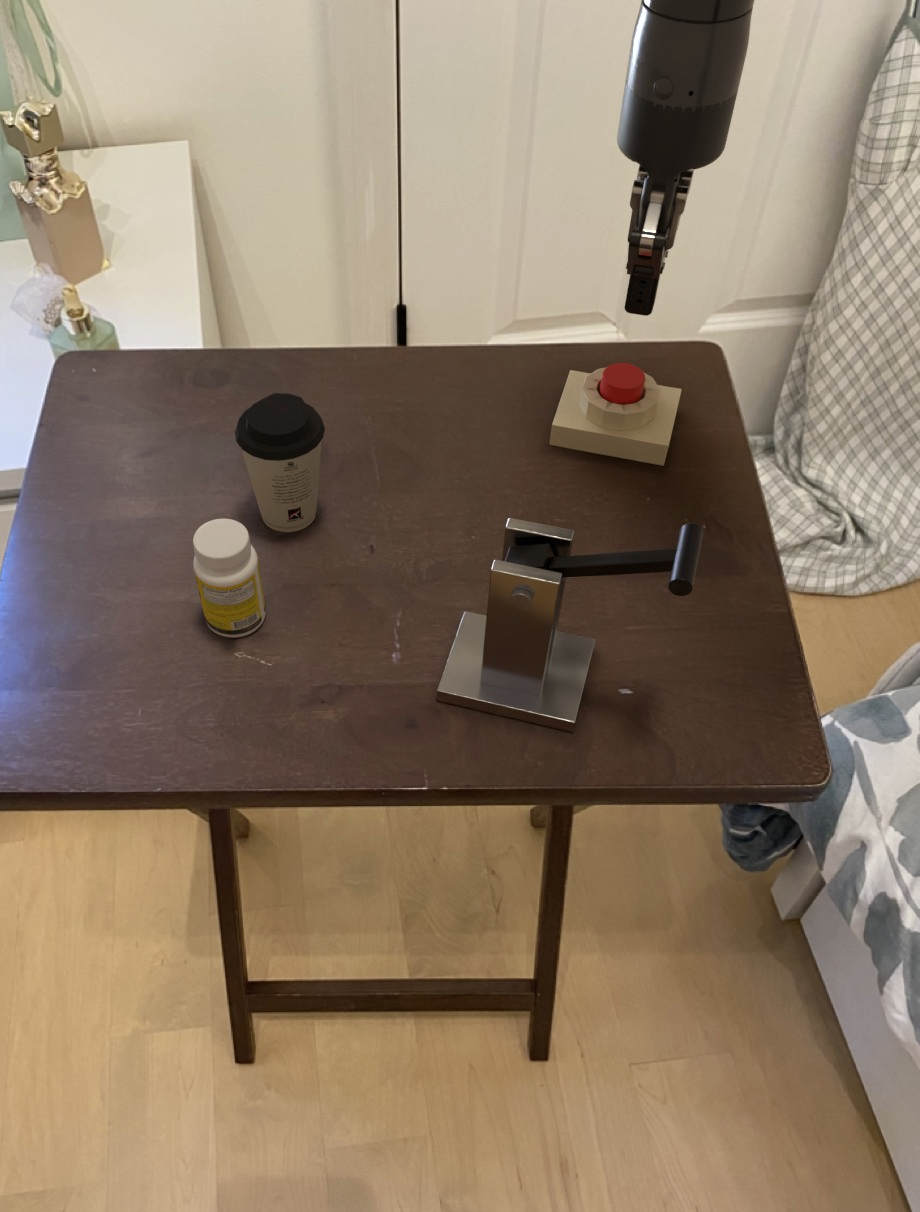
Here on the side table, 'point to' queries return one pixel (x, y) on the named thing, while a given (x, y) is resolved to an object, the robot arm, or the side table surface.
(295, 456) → the coffee cup
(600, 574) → the lever
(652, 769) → the side table surface
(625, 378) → the button
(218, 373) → the side table surface
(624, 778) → the side table surface
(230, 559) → the supplement bottle
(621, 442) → the control block
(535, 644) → the bracket
